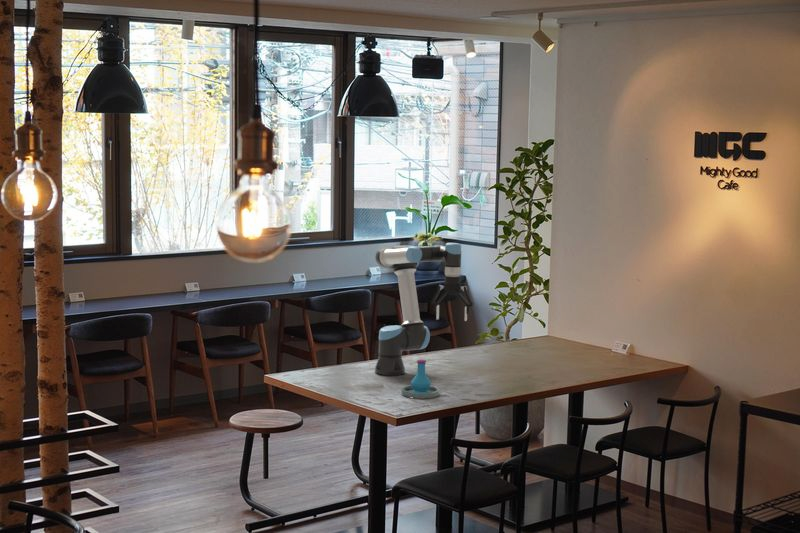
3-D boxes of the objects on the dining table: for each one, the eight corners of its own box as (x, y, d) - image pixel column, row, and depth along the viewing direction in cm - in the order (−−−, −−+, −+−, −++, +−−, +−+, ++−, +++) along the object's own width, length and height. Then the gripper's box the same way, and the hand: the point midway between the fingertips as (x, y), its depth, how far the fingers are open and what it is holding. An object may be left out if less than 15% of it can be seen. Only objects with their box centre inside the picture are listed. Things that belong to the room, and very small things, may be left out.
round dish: (398, 397, 469) (398, 392, 468) (406, 388, 486) (406, 383, 485) (435, 399, 465) (435, 394, 465) (442, 391, 482) (442, 386, 482)
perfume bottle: (424, 395, 469) (425, 363, 467) (407, 392, 474) (407, 360, 472) (434, 391, 477) (435, 359, 475) (417, 388, 482) (418, 357, 480)
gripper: (425, 275, 487) (424, 319, 490) (477, 277, 482) (476, 322, 484) (428, 273, 495) (427, 317, 497) (479, 275, 489) (478, 319, 492)
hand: (451, 319), depth 491 cm, fingers open, 13 cm apart
